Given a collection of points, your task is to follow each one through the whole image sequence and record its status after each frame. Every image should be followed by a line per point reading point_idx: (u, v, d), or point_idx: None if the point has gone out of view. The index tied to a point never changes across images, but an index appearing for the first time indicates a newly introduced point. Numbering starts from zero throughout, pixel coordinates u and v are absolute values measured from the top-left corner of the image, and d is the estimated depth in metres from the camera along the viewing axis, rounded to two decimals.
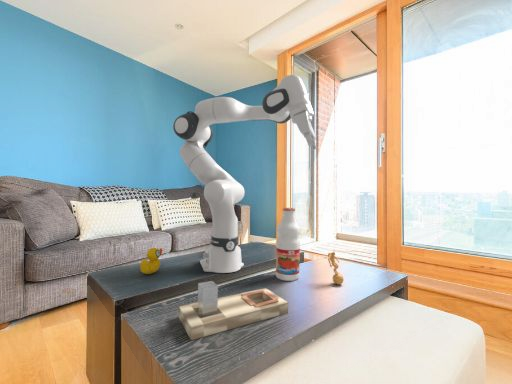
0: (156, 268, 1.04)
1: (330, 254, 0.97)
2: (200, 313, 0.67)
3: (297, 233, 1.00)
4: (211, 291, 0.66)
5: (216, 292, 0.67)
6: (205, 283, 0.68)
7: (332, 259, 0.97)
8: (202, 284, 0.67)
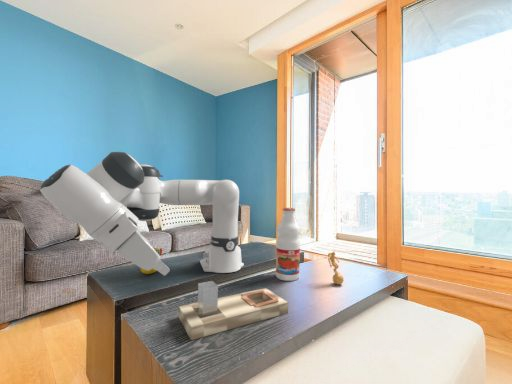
0: None
1: (330, 254, 0.97)
2: (200, 313, 0.67)
3: (297, 233, 1.00)
4: (211, 291, 0.66)
5: (216, 292, 0.67)
6: (205, 283, 0.68)
7: (332, 259, 0.97)
8: (202, 284, 0.67)
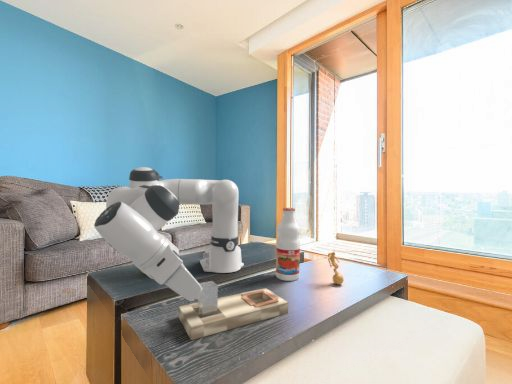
0: None
1: (330, 254, 0.97)
2: (200, 313, 0.67)
3: (297, 233, 1.00)
4: (211, 291, 0.66)
5: (216, 292, 0.67)
6: (205, 283, 0.68)
7: (332, 259, 0.97)
8: (202, 284, 0.67)
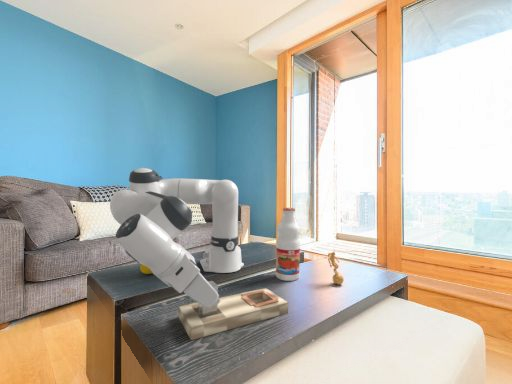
0: None
1: (330, 254, 0.97)
2: (200, 313, 0.67)
3: (297, 233, 1.00)
4: None
5: None
6: None
7: (332, 259, 0.97)
8: None
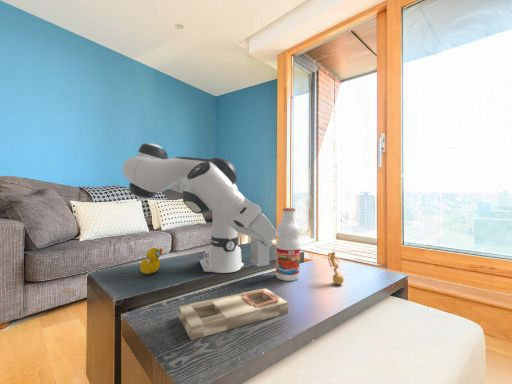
0: (156, 268, 1.04)
1: (330, 254, 0.97)
2: (254, 255, 0.74)
3: (297, 233, 1.00)
4: None
5: None
6: None
7: (332, 259, 0.97)
8: None
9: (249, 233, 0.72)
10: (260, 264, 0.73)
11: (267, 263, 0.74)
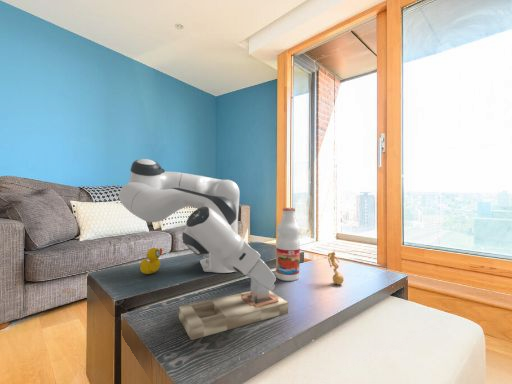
0: (156, 268, 1.04)
1: (330, 254, 0.97)
2: (253, 300, 0.75)
3: (297, 233, 1.00)
4: None
5: None
6: None
7: (332, 259, 0.97)
8: None
9: (248, 275, 0.72)
10: None
11: None
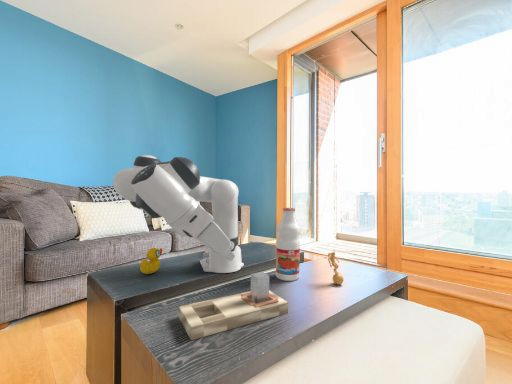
0: (156, 268, 1.04)
1: (330, 254, 0.97)
2: (253, 300, 0.75)
3: (297, 233, 1.00)
4: (264, 281, 0.74)
5: (268, 282, 0.75)
6: (257, 274, 0.76)
7: (332, 259, 0.97)
8: (255, 275, 0.76)
9: (204, 243, 0.65)
10: None
11: None
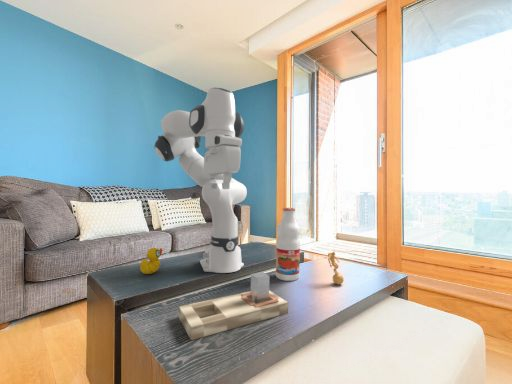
0: (156, 268, 1.04)
1: (330, 254, 0.97)
2: (253, 300, 0.75)
3: (297, 233, 1.00)
4: (264, 281, 0.74)
5: (268, 282, 0.75)
6: (258, 274, 0.76)
7: (332, 259, 0.97)
8: (255, 275, 0.76)
9: (215, 165, 0.75)
10: None
11: None
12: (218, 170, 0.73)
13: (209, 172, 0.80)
